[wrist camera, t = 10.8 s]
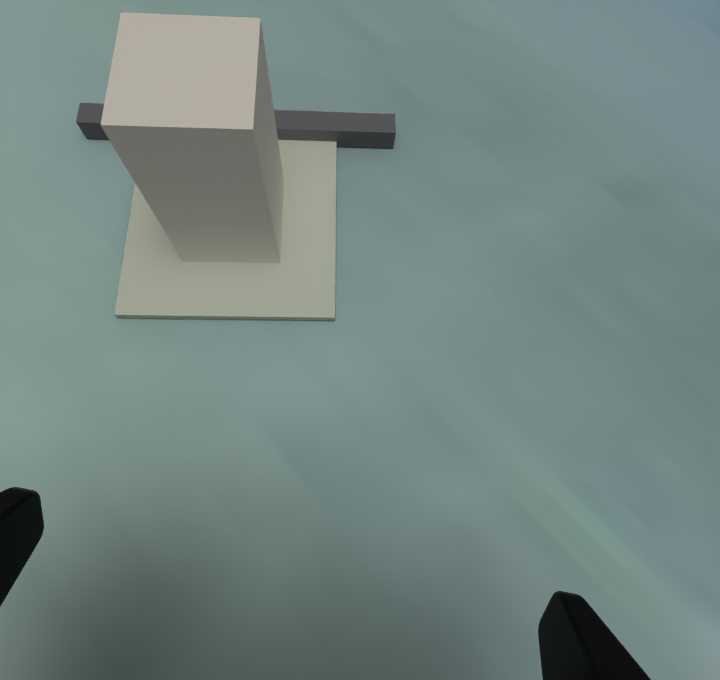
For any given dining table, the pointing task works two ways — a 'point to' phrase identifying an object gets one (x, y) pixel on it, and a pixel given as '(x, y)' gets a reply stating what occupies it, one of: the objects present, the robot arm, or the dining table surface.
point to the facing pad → (241, 279)
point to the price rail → (293, 126)
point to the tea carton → (199, 132)
